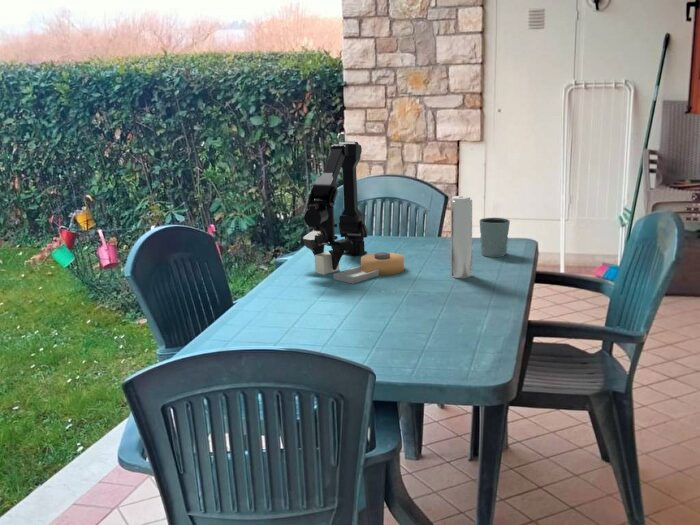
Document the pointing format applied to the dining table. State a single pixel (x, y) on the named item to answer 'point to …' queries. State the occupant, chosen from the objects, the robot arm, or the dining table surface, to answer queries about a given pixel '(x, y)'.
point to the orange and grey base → (373, 267)
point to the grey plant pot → (494, 236)
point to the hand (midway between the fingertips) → (327, 268)
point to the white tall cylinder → (461, 237)
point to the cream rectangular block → (324, 263)
